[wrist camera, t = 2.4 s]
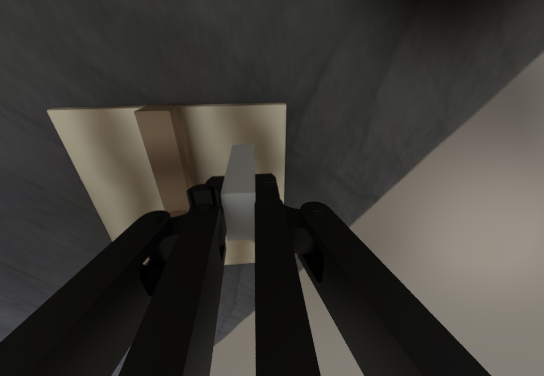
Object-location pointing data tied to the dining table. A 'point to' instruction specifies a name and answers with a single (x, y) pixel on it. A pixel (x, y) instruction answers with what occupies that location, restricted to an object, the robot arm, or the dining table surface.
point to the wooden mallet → (167, 154)
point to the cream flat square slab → (136, 167)
